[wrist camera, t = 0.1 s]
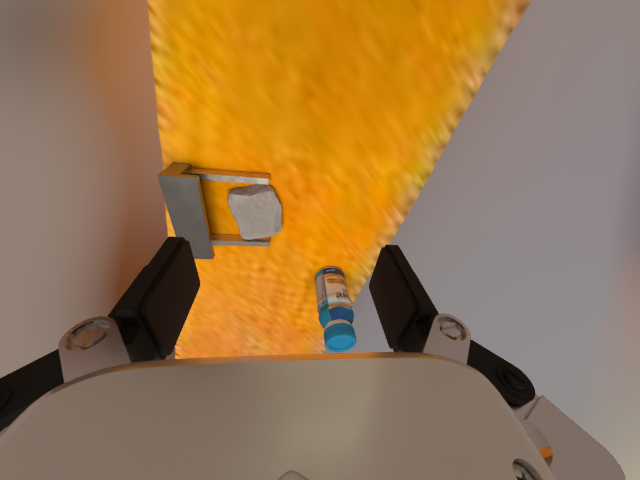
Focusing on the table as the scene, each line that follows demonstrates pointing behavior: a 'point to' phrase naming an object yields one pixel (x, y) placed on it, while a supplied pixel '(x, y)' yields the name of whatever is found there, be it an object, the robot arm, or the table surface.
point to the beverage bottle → (335, 309)
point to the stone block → (256, 211)
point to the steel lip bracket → (201, 206)
